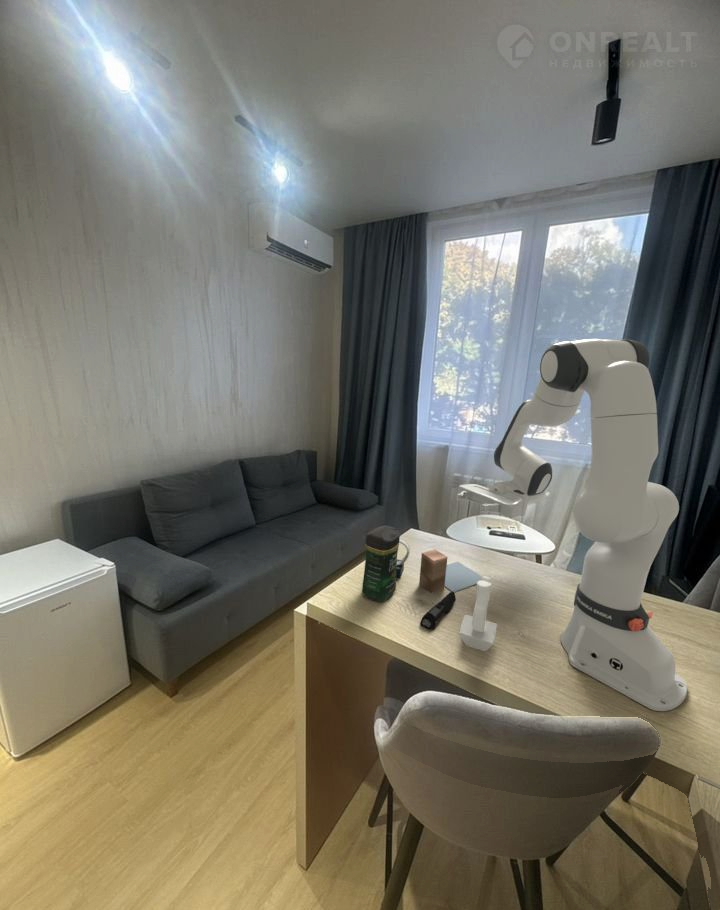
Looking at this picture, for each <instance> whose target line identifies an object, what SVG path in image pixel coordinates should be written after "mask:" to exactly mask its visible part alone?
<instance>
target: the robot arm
mask: <svg viewBox="0 0 720 910" xmlns="http://www.w3.org/2000/svg"><path fill="white" fill-rule="evenodd" d="M649 366H650V353H649V350H648V348H647V347H646V345H645V344H643V343H642V342H640V341H637V340H635V339H634V340H632V339H627V338H624V339H623V338H622V339H619V340H618V339H605V338H604V339H599V338H589V339H588V338H587V339H580V340H579V339H577V340H574V341H570V340H569V341H568V340H565V341H561V342H557V343H554V344H552V345H550V346H549V347H547V348H546V350H545V351H544V353H543V354H542V357H541V359H540V363H539V372H540V378H539V381H538V384H537V386H536V388H535V392H534V394H533V396H532V398H531V399H527V400H525V401H524V402H522V403H521V404H520V406H519V407H518V408H517V410H516V412H515V413H514V415H513V417H512V419H511V421H510V423H509V425H508V427H507V430H506V432H505V434H504V436H503V437H502V439H501V441H500V442H499V444H497V447H496V448H495V450H494V452H493V460H494V461H493V462H494V464H495V466H496V467H498V468H500V469H501V470H503V471H504V472H506V473H507V474H509V475H510V476H511V477H513V478H512V480H504V481H503V480H502V481H497V482H493V483H492V484H490V485H489V486H488V487H486V486H483V485H480V484H477V483H468V484H467V483H466V484H459V486H458V487H457V489H458V490H457V493H456V497H455V499H456V500H457V501H459V502H461V501H463V502H464V501H465V500H467V501H468V502H471V503H474V504H476V505H478V506H481V507H480V510H481V511H483V512H486V513H488V512H493V513H494V512H495V513H497V514H500V515H503V516H505V517H508V518H517V517H524V516H525V515H526V512H527V508H528V506H530V505H532V504H535V503H536V502H538V501H539V500H541V498H542V497H543V496H544V492H545V490H546V489H547V488H548V487H549V486H550V484H551V482H552V479H553V468H552V467H553V466H552V464H551V463H550V462H548V461H547V460H545V459H544V458H543V457H542V456H540V455H538V454H536V453H535V452H533V451H531V450H530V449H528V448H527V447H526V446H525V445H524V443H523V439H524V436H525V434H526V433H527V431H528V429H529V427H530V425H534V426H539V427H546V428H547V427H548V428H550V427H551V428H552V427H557V426H558V427H559V426H561V425H564V424H566V423H568V422H569V421H570V420H571V419H572V418H574V416H575V415H576V412H577V411H578V409H579V406H580V404H581V401H582V398H583V395H584V392H585V393H587V395H588V396H589V398H590V432H591V433H590V434H591V435H590V436H591V457H590V458H591V459H590V463H589V464H590V465H589V468H588V473H587V477H586V479H585V484H584V488H583V489H582V493H581V494H580V496H579V498H578V499H577V500H576V502H575V503H574V505H573V508H572V520H573V522H574V525H575V527H576V529H577V531H579V533H580V534H582V536H584V537H585V538H586V539H588V540H590V541H592V542H594V543H593V544H592V545H591V547H590V548H588V550H587V552H586V554H585V556H584V561H583V566H582V567H583V568H582V571H581V576H580V577H581V578H580V581H579V583H578V584H577V587H576V590H575V594H574V599H573V601H574V602H573V611H572V614H571V617H570V619H569V621H568V625H567V626H566V628H565V630H564V631H563V633H562V634H561V638H560V641H561V645H562V647H563V648H564V650H565V651H566V653H567V655H568V660H569V661H568V662H569V664H570V665H571V666H572V667H574V668H576V669H577V670H579V671H581V672H582V673H584V674H587V676H590V677H591V678H593V679H595V680H597V681H599V682H601V683H602V684H604V685H606V686H608V687H610V688H611V689H614V690H615V691H617V692H619V693H620V694H622V695H624V696H626V697H628V698H629V699H632V700H633V701H635V702H637V703H638V704H641V705H642V706H645V707H646V708H648V709H650V710H652V711H657V712H666V711H667V712H668V711H671V710H674V709H675V708H677V707H678V706H680V705H682V703H683V702H684V701H685V699H686V698H687V695H688V685H687V682H686V680H685V679H684V677H682V676H681V675H679V674H678V673H676V660H675V657H674V654H673V653H672V651H671V650H670V649H669V648H668V647H667V646H666V645H665V644H664V642H663V641H662V640H661V639H660V637H659V636H658V635H656V633H655V632H654V631H653V630H652V628H651V627H650V626H649V623H650V619H652V618H653V617H652V616H653V613H654V612H653V611H650V612H648V613H647V612H646V610H645V608H644V607H643V605H642V600H643V594H644V592H645V591H644V590H645V586H646V582H647V578H648V575H649V572H650V569H651V566H652V565H653V562H654V560H655V558H656V556H657V554H658V552H659V550H660V548H661V546H662V544H663V542H664V539H665V537H666V536H667V535H666V534H667V532H668V530H669V528H670V527H671V525H672V524H673V522H674V521H675V519H676V518H677V516H678V514H679V511H680V505H679V504H680V503H679V501H678V498H677V496H676V495H675V494H674V492H673V491H672V490H671V489H669V488H667V487H666V486H664V485H662V484H658V483H655V482H652V481H649V478H650V474H651V471H652V469H653V468H652V467H653V465H654V462H655V461H656V459H657V457H658V455H659V435H658V434H659V433H658V429H659V428H658V414H657V413H658V411H657V400H656V399H657V398H656V394H655V389H654V385H653V384H654V383H653V380H652V377H651V373H650V371H649Z"/></svg>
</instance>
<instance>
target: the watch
mask: <svg viewBox="0 0 720 910" xmlns="http://www.w3.org/2000/svg"><path fill="white" fill-rule="evenodd" d="M399 544H402V545H403V546H404V547H405V548H406V554H405V555H404V557H403V558H401V559H398V558H397V567H396V579H399V580H400V579H401V578H402V574H403V572H404V570H405V569H404V567H405V563H406V561H407V559H408V558H409V555H410V551H411V549H410V546H409V544H408V543H407V541H406V540H404V539H403V538H400V537H399Z"/></svg>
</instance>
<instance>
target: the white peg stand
mask: <svg viewBox="0 0 720 910" xmlns="http://www.w3.org/2000/svg"><path fill="white" fill-rule="evenodd" d="M491 591H492V579H491V578H490V576H486V575H484V576H482V577H481V581H478V582H477V584H476V597H475V605H474V606H473V607H474V608H473V612H472V616H471V615H469V614H464V617H463V619H462V622H461V626H460V629H459V631H458V632H459V635H460V637H461V639H462V640H463V641H462V642H463V644H464V645H465V646H467V647H470V648H473V649H476V650H479V651H482V652H487V650H489V649H490V648H491V647H492V646H493V645H494V642H495V639H496V638H495V637H496V633H497V626H498V623H494V622H492V621H488V620H487V614H488V607H489V602H490V599H491V597H490V596H491Z"/></svg>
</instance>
